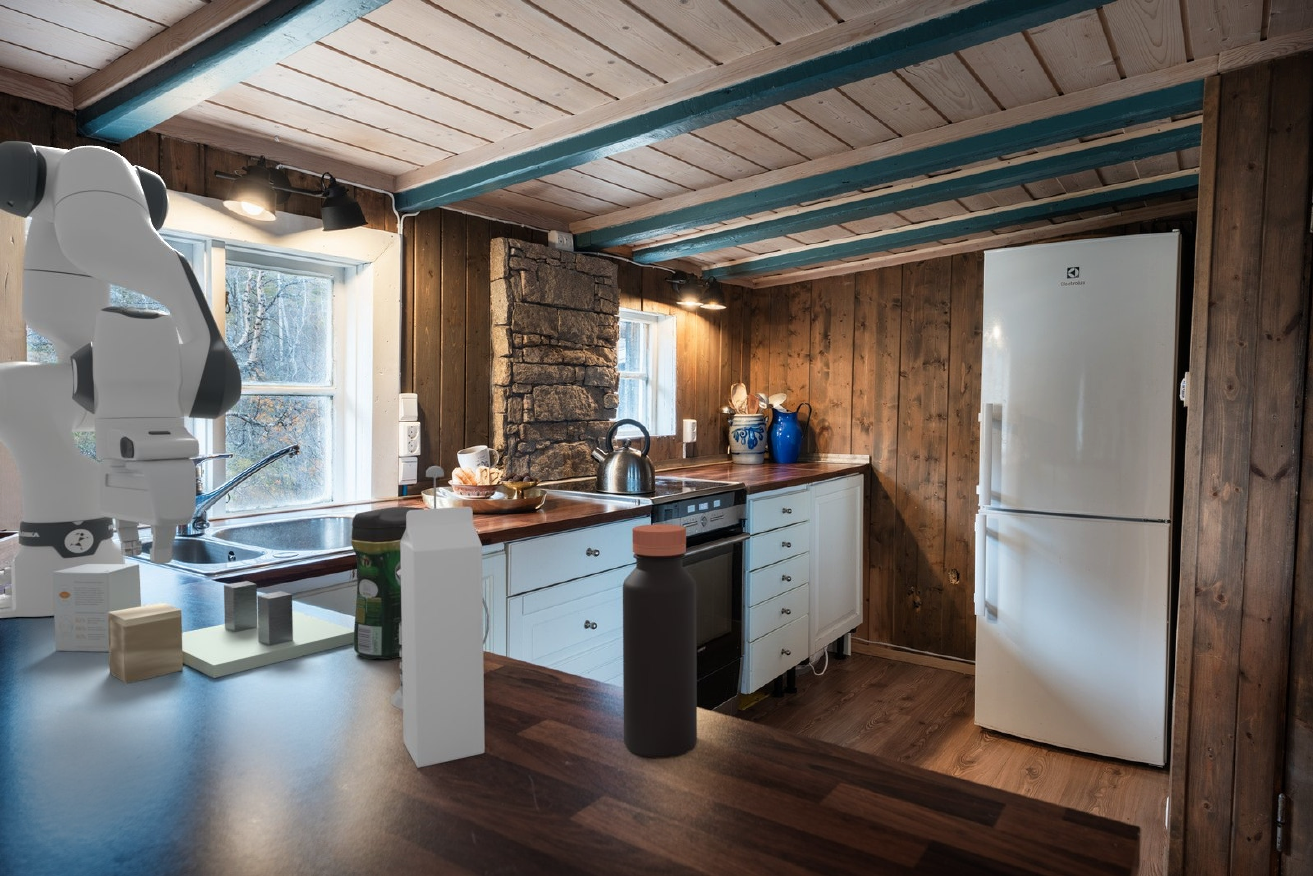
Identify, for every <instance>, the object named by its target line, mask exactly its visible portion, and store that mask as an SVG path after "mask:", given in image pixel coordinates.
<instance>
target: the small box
mask: <svg viewBox="0 0 1313 876" xmlns="http://www.w3.org/2000/svg"><path fill="white" fill-rule="evenodd" d="M52 575H53V599H54V615H53V617H54V619H53V620H54V637H55V638H54V639H55V640H54V642H55V650H56V651H57V652H98V653H102V652H105V653H106V652H108V653H109V630H108V612H111V611H117V610H123V609H129V608H134V607H140V606H142V597H141V578H140V577H141V576H140V575H141V574H140V564H137V563H134V564H132V563H131V564H130V563H129V564H128V563H127V564H126V563H125V564H85V565H80V566H76V567H72V568H68V569H63V570H59V571H55V572H53V573H52Z"/></svg>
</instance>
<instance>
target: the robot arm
mask: <svg viewBox="0 0 1313 876" xmlns="http://www.w3.org/2000/svg"><path fill="white" fill-rule="evenodd" d="M167 190H168V189H167V187H166V183H165V182H164V180H163V179H162V178H161V176H160V175H158V174H156V173H155V172H153V171H151V170H148V169H147V168H144V167H141V166H139V165H134V166H133V165H131V163H130V162H129V161H128V160H127V159H126V158H125V157H123V156H121V155H120V154H119V153H117V152H115V151H113V150H110V149H108V148H105V147H102V146H96V145H95V146H94V145H86V146H85V145H84V146H78V147H74V148H72V149H69V150H68V149H62V148H56V147H49V146H42V145H33V143H31V142H30V141H29V142H27V141H16V140H15V141H14V140H13V141H12V140H10V141H8V140H7V141H3V142H1V143H0V210H1V211H4V212H6V213H9V214H11V215H14V216H17V217H20V218H24V219H27V218H28V217H30V218H31V220H30V223H29V227H28V232H27V236H26V240H25V247H24V254H23V262H22V265H23V266H22V268H23V271H22V297H21V298H22V299H21V316H22V319H23V321H24V322H25V324H26V326H28V328H29V329H31V330H32V331H33V332H34V333H36V334H37V335H39V336H41V337H43V338H45V339H47V340H48V341H49V342H50V344H51V345H52V347H53V348H54V350H55V353H56V357H57V362H54V363H53V362H37V361H25V360H24V361H22V360H19V361H18V360H17V361H16V360H15V361H7V362H0V443H1V444H2V446H4V447H5V449H6V450H7V451H8V454H9V455H10V456H11V458H12V460H13V461H14V464H15V466H16V468H17V473H18V476H19V482H20V491H21V503H22V506H21V507H22V521H20V522H19V529H18V533H17V534H18V544H20V547H19V549H18V551H17V553H16V555H15V556H14V557H13V559H12V560H11V561H10V566H9V567H3V568H4V569H3V570H0V586H5V587H4V588H3V594H0V619H4V618H16V617H19V618H21V617H25V618H26V617H28V618H29V617H34V618H35V617H50V616H51V617H53V616H54V599H53V575H52V573H53V572H55V571H59V570H63V569H68V568H72V567H76V566H80V565H85V564H126V559H125V558H126V557H137V556H141V554H142V553H143V550H142V545H143V544H142V540H141V539H140V535H139V534H140V533H139V529H138V527H139V526H140V524H142V525H146V526H150V534H151V535H152V541H151V542H152V545H151V548H149V561H150V563H153V564H155V565H162V564H163V565H165V564H169V563H171V562H172V559H173V551H172V547H173V545H174V541H175V538H176V535H177V526H184V525H189V524H191V523H192V521H193V517H194V515H195V513H196V501H197V500H196V497H197V472H196V464H195V462H194V460H193V459H197V458H198V457H199V456H200V444H199V440H198V438H196V437H195V436H193V435H192V434H191V433H190V432H189V431H188V429H187V427H185V417H188V418H190V419H192V418H193V419H206V420H217V419H219V418H220V417H223V415H224V414H226V413H228V412H229V411H230V410H231V409H232V408H234V406H235V405H236V404H238V402H239V401H240V400H241V396H242V388H243V387H242V385H243V384H242V374H241V370H240V367H239V364H238V362H237V359H236V357H235V356H234V354H233V352H232V351H231V350H230V348H229V346H228V345H227V343H226V342H225V340H224V337H223V335H222V334H221V332H220V329H219V327H218V324H217V322H216V320H215V318H214V316H213V313H212V311H211V308H210V305H209V303H208V301H207V299H206V297H205V295H204V291H203V290H202V287H201V285H200V283H199V280H198V278H197V277H196V274H195V273H194V271H193V268H192V267H191V264H190V263H189V261H188V259H187V258H186V256H185V255H184V254H183V253H181V252H180V251H178V250H177V249H175V248H172V246H170V244H168V243H167V242H166V241H165V240H164V239H163V238H162V237H161V235H160V234H159V233H158V231H160V229H162V227H163V226H164V223H165V220H167V216H168V213H169V209H170V205H169V204H170V203H169V195H168V192H167ZM111 285H113V286H117V287H120V288H122V289H126V290H130V291H133V292H135V293H138V294H140V295H143V296H145V297H148V298H150V299H152V300H153V301H156V302H157V303H159V304H160V305H162V306H163V307H164V308H166V309H167V310H168V312H169V313H168V312H166V311H164V310H161V309H156V308H146V307H136V306H135V307H134V306H114V305H113V306H111ZM179 337H180V340H181V343H180V341H179ZM83 432H84V433H85V432H89V433H91V432H94V437H95V439H94V440H95V457H96V459H97V460H96V459H94V458H92V457H90V456H88V455H85V454H84V453H83V452H82V451H81V450H80V449H79V448H78V446H77V445H76V442H75V439H74V435H73V433H83ZM99 460H101V462H99ZM113 519H114V520H113ZM114 521H115V523H114ZM114 525H115V526H114ZM114 528H115V530H116V533H117V537H118V538H119V541H120V545H117V544H116V543H115V542H114V541H113V537H114ZM6 585H9V586H6Z"/></svg>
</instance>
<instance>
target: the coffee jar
mask: <svg viewBox="0 0 1313 876" xmlns="http://www.w3.org/2000/svg"><path fill="white" fill-rule="evenodd" d="M423 509H424V508H422V507H412V506H392V507H385V508H380V509H373V510H369V511H364V512H359V513H356V514H355V515H354V517H353V518H352V524H351V526H352V530H351V541H350V542H351V546H352V549H353V551H354V554H355V557H356V565H357V566H356V567H357V581H356V583H357V584H356V603H355V616H354V617H355V618H354V629H353V630H354V643H353V651H355V653H357V654H358V655H360V657H362V658H366V659H369V660H374V659H385V660H386V659H387V660H388V659H393V658H399V651H400V648H401V647H402V645H400V644H399V623H400V622H401V621H402V612H401V579H400V578H399V576H398V574H397V573H396V572H397V571H398V570H400V569H401V549H400V542H401V539H402V537H403V534H404V532H405V530H406V514H407V512H408V511H410V510H423Z"/></svg>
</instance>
